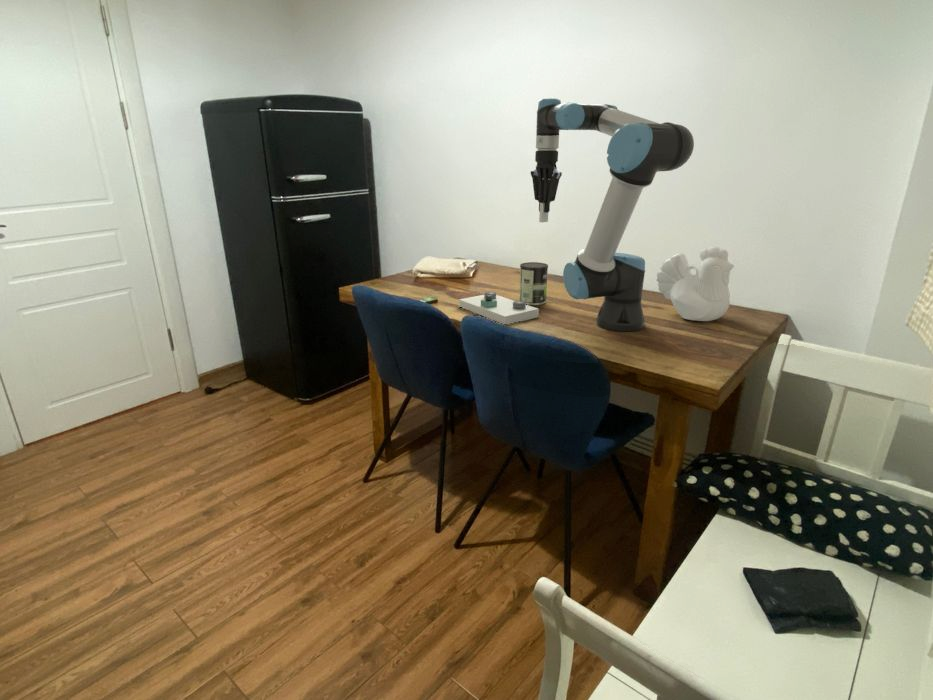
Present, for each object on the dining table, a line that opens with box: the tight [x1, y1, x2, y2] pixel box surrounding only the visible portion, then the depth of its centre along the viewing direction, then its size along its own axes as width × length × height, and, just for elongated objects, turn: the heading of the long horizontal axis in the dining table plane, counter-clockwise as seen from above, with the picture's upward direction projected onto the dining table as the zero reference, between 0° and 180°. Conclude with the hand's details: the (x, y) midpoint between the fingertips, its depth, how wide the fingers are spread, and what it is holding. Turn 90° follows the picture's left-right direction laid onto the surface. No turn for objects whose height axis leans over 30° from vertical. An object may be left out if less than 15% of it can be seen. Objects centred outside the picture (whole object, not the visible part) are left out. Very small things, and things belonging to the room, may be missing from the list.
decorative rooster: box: [656, 246, 735, 322], centre depth 184 cm, size 25×16×25 cm, turn 31°
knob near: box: [513, 300, 526, 309], centre depth 188 cm, size 4×4×5 cm
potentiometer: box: [481, 295, 497, 308], centre depth 189 cm, size 4×4×4 cm
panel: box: [458, 294, 540, 325], centre depth 192 cm, size 26×15×3 cm, turn 36°
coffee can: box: [518, 261, 549, 306], centre depth 203 cm, size 10×10×14 cm
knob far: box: [483, 291, 497, 299], centre depth 200 cm, size 4×4×5 cm
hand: (543, 221), depth 189 cm, fingers closed
